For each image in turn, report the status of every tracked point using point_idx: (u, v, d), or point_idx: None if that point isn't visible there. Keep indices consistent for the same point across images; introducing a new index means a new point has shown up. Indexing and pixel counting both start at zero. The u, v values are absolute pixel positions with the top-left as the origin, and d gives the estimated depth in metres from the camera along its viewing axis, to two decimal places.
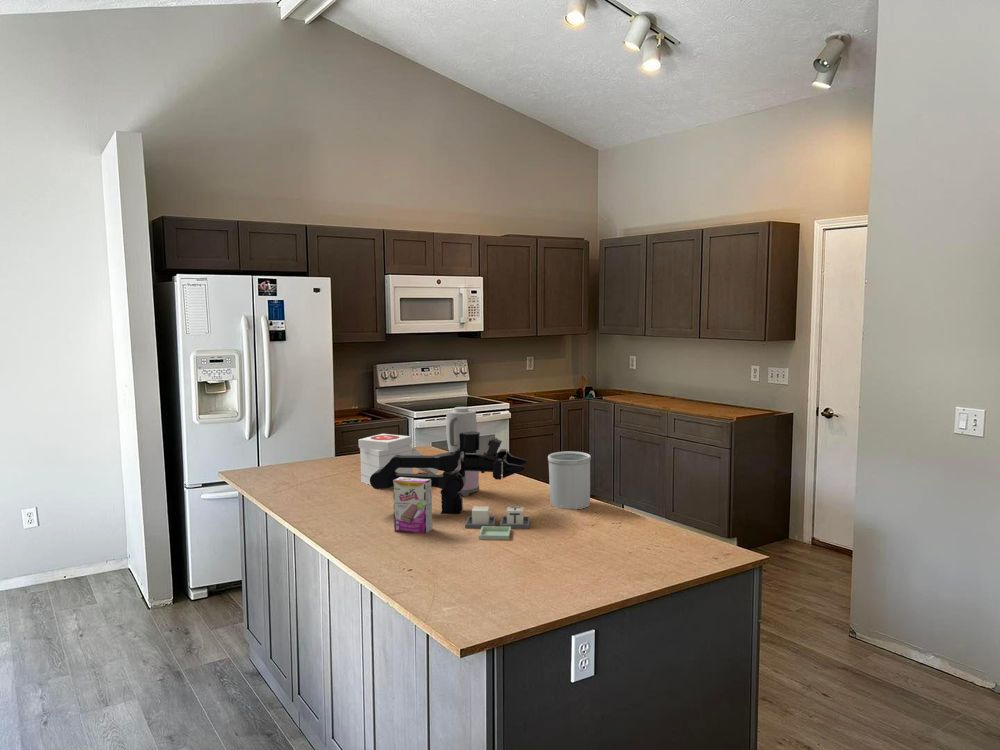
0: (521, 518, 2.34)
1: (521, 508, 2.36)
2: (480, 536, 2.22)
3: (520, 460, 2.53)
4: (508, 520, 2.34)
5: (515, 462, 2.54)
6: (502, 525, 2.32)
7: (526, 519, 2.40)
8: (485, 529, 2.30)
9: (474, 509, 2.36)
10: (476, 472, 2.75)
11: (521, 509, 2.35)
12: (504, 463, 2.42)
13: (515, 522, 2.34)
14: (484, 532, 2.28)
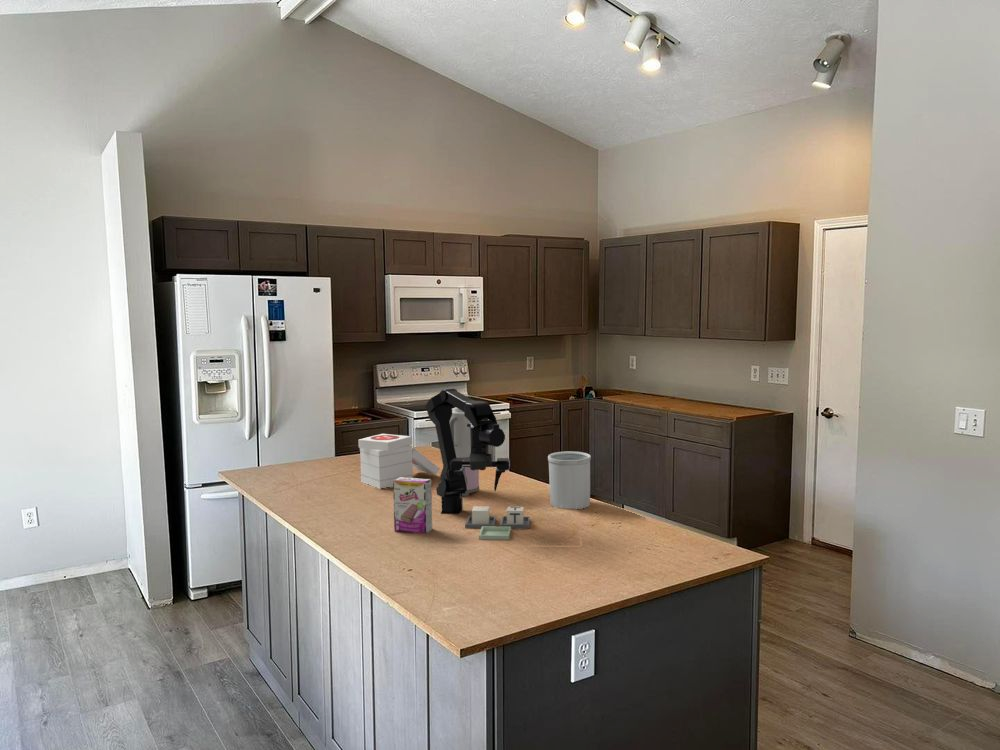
0: (521, 518, 2.34)
1: (521, 508, 2.36)
2: (480, 536, 2.22)
3: None
4: (508, 520, 2.34)
5: None
6: (502, 525, 2.32)
7: (526, 519, 2.40)
8: (485, 529, 2.30)
9: (474, 509, 2.36)
10: (476, 472, 2.75)
11: (521, 509, 2.35)
12: None
13: (515, 522, 2.34)
14: (484, 532, 2.28)
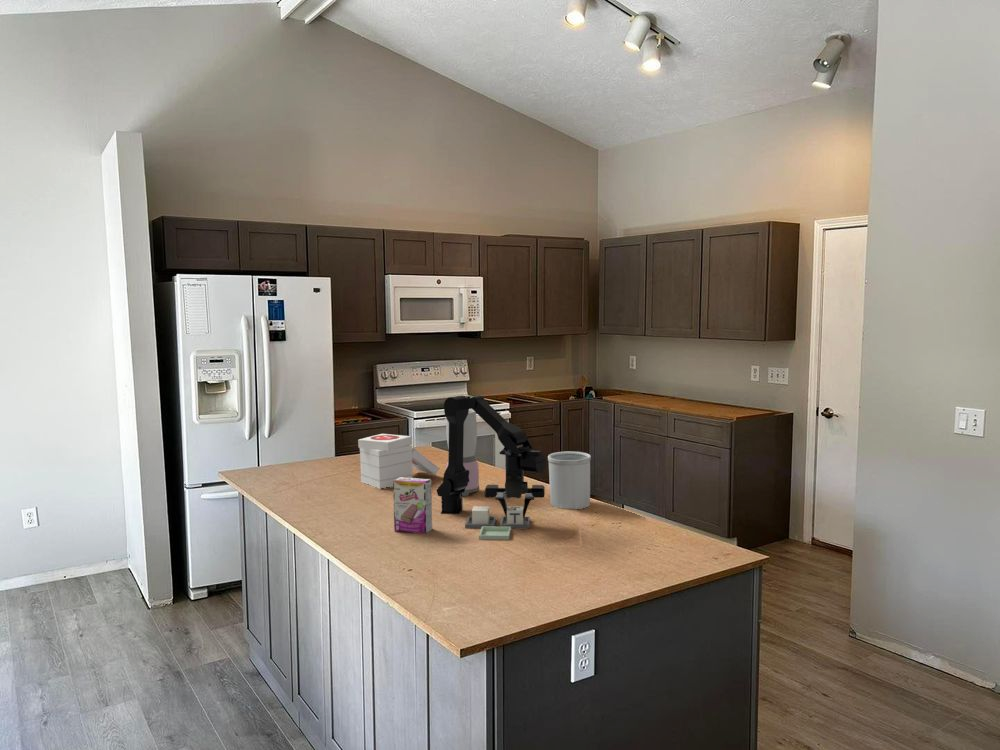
0: (521, 518, 2.34)
1: (521, 508, 2.36)
2: (480, 536, 2.22)
3: (523, 511, 2.35)
4: (508, 520, 2.34)
5: None
6: (502, 525, 2.32)
7: (526, 519, 2.40)
8: (485, 529, 2.30)
9: (474, 509, 2.36)
10: (476, 472, 2.75)
11: (521, 509, 2.35)
12: None
13: (515, 522, 2.34)
14: (484, 532, 2.28)
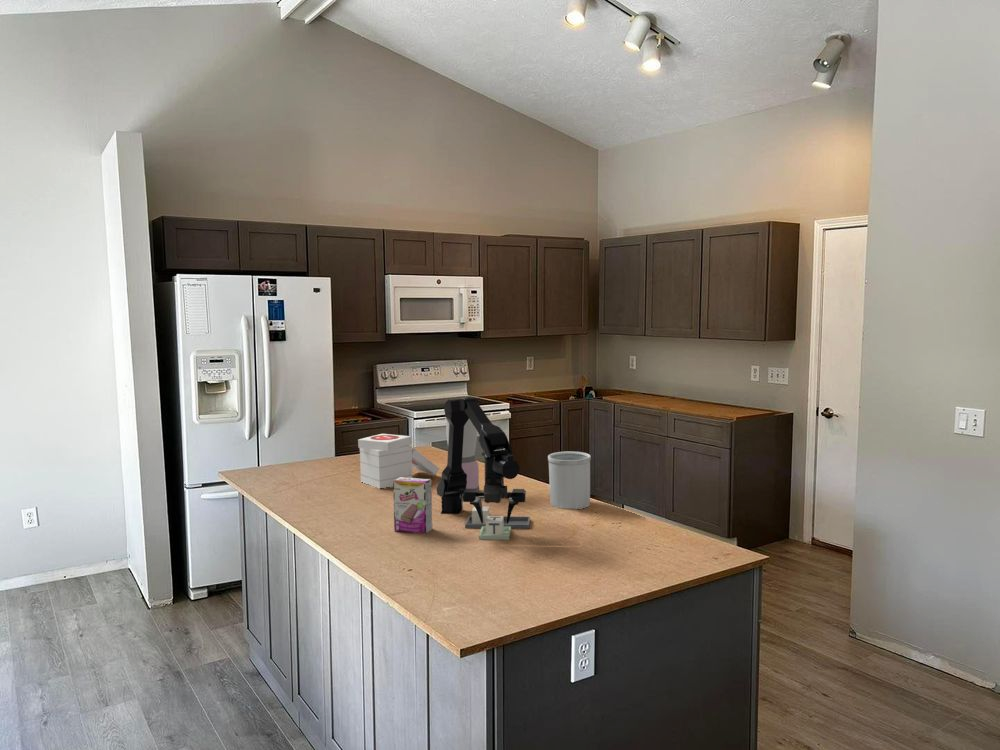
0: (501, 528, 2.23)
1: (501, 518, 2.26)
2: (480, 536, 2.22)
3: (507, 516, 2.25)
4: (487, 531, 2.24)
5: None
6: None
7: (526, 519, 2.40)
8: (485, 529, 2.30)
9: (474, 509, 2.36)
10: (476, 472, 2.75)
11: (501, 519, 2.25)
12: None
13: (494, 533, 2.23)
14: (484, 532, 2.28)
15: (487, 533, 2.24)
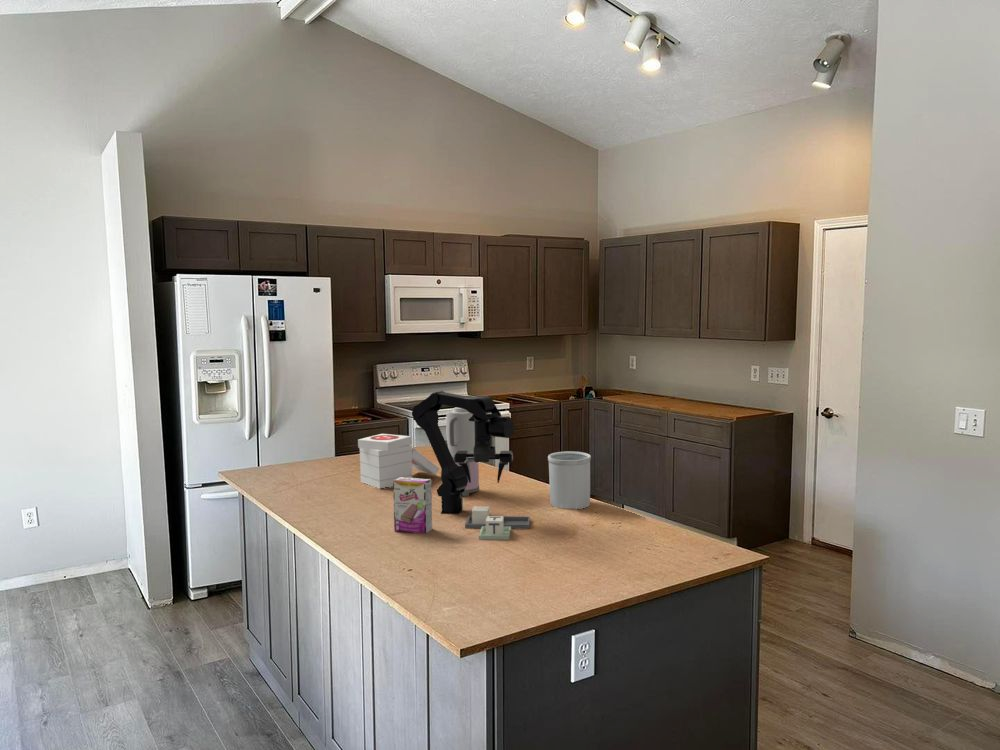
0: (501, 528, 2.23)
1: (501, 518, 2.26)
2: (480, 536, 2.22)
3: None
4: (487, 531, 2.24)
5: None
6: None
7: (526, 519, 2.40)
8: (485, 529, 2.30)
9: (474, 509, 2.36)
10: (476, 472, 2.75)
11: (501, 519, 2.25)
12: None
13: (494, 533, 2.23)
14: (484, 532, 2.28)
15: (487, 533, 2.24)
